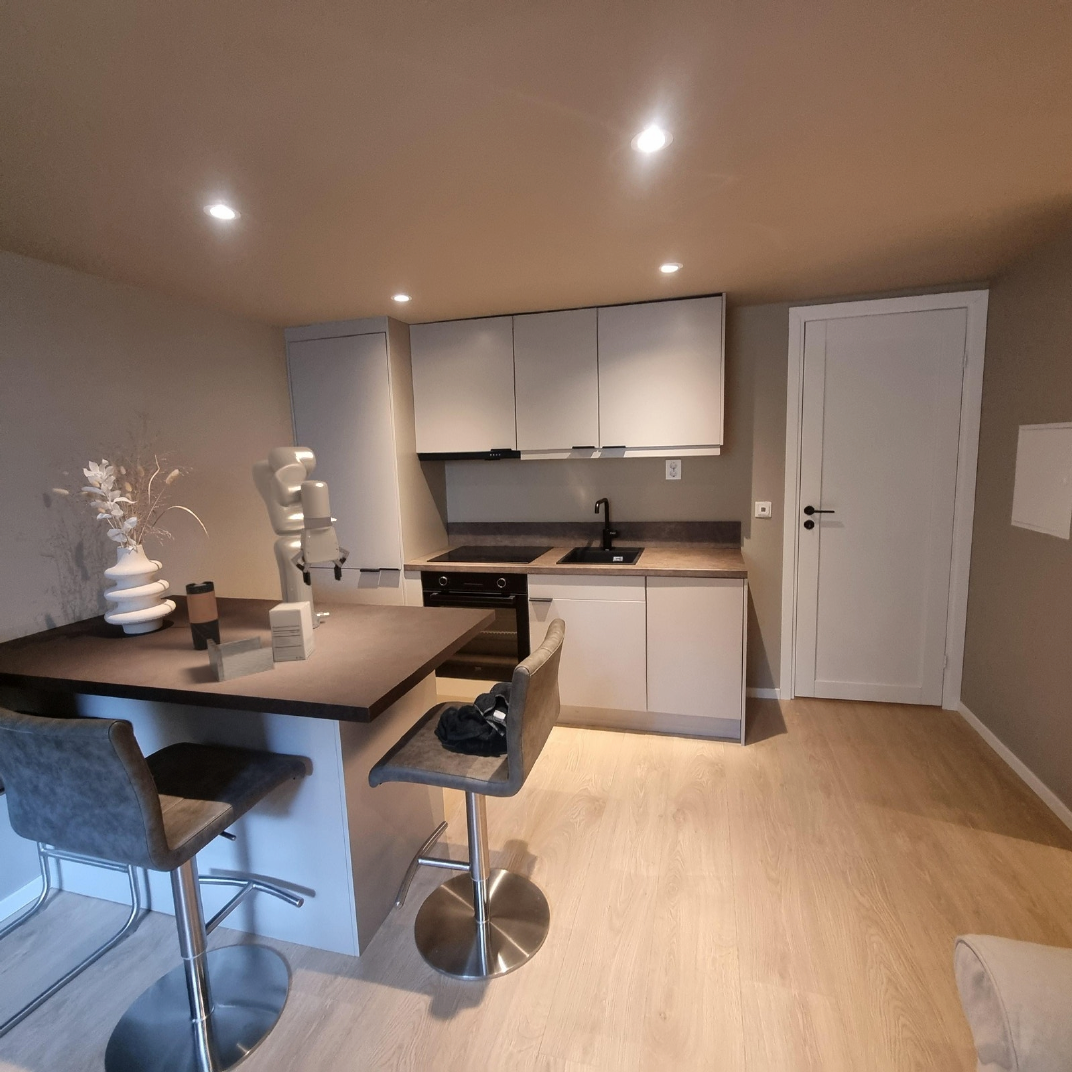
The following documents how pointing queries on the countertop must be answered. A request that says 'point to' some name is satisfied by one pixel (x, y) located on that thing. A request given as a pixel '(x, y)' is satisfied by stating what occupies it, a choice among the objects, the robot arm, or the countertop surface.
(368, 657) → the countertop surface
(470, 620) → the countertop surface
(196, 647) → the travel mug
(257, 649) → the bracket
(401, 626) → the countertop surface
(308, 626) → the supplement box
